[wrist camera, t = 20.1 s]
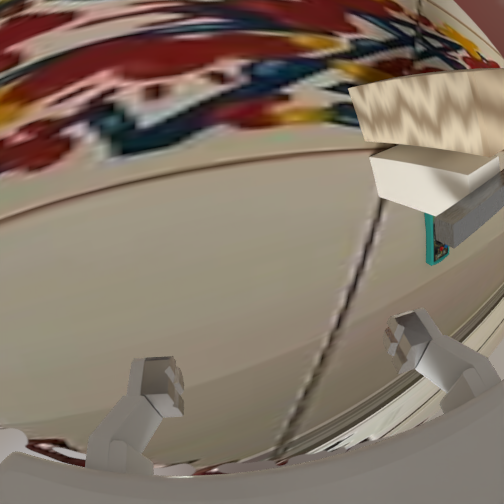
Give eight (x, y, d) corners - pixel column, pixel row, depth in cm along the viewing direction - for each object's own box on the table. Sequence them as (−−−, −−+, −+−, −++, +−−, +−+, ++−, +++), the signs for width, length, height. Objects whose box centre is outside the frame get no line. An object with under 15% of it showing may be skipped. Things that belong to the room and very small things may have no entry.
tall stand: (347, 88, 43) (473, 71, 20) (393, 77, 44) (508, 68, 21) (364, 141, 47) (490, 157, 24) (408, 125, 48) (521, 137, 25)
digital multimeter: (424, 264, 63) (432, 269, 60) (422, 207, 57) (431, 210, 54) (442, 252, 64) (450, 257, 61) (441, 197, 58) (450, 200, 55)
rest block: (369, 156, 48) (467, 175, 29) (405, 142, 49) (498, 155, 30) (379, 196, 52) (471, 230, 32) (413, 179, 53) (501, 204, 33)
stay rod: (434, 217, 29) (453, 224, 26) (504, 168, 31) (519, 172, 28) (436, 239, 30) (454, 248, 27) (505, 186, 32) (519, 190, 29)
